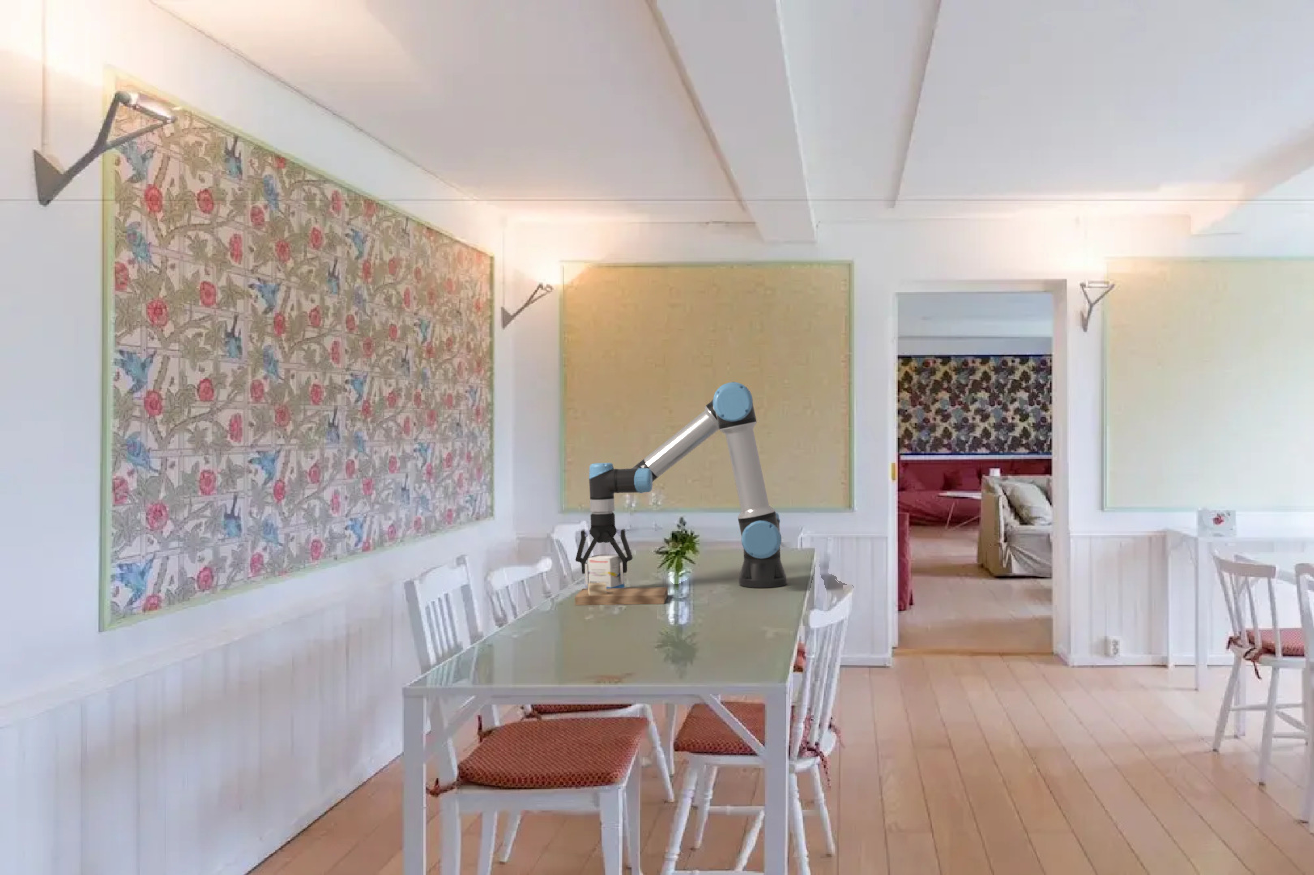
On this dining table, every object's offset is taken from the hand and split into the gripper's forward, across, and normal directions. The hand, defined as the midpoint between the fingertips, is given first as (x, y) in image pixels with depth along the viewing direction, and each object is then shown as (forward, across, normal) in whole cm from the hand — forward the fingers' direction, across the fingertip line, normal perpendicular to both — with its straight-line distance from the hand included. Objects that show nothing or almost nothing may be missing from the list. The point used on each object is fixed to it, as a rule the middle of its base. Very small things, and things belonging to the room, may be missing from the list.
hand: (604, 583), depth 316 cm
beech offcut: (+1, 0, +15) cm, 15 cm away
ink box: (+3, 0, -1) cm, 3 cm away
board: (+3, -7, +12) cm, 14 cm away
